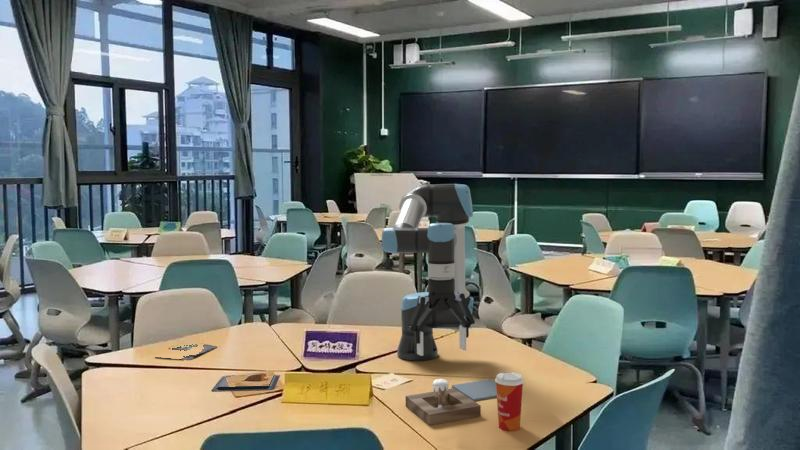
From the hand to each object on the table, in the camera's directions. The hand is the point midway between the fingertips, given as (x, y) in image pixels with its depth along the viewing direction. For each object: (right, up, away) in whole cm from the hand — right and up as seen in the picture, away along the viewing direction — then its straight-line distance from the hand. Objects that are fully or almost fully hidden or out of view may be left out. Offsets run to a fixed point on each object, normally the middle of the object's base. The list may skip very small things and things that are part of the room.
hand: (441, 351), depth 182 cm
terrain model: (-94, -14, +66) cm, 116 cm away
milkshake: (0, -18, +2) cm, 18 cm away
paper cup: (+17, -18, -11) cm, 27 cm away
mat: (+14, -16, +18) cm, 28 cm away
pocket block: (0, -17, +2) cm, 17 cm away
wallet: (-62, -17, +28) cm, 70 cm away
